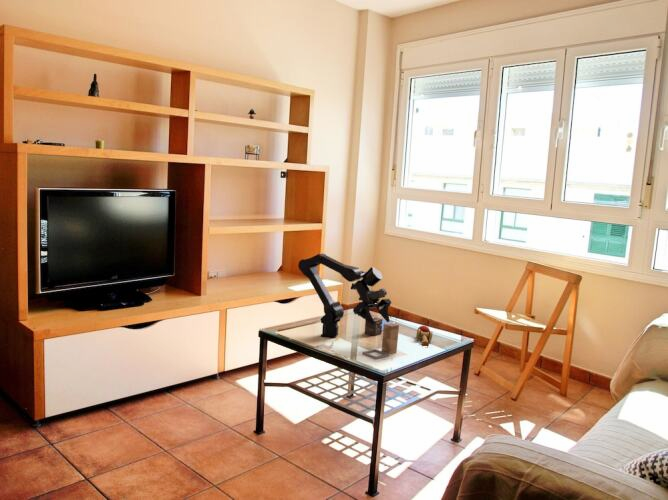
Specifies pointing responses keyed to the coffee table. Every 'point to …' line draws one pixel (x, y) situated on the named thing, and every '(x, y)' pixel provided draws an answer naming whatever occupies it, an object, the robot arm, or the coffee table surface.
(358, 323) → the coffee table surface
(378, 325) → the box
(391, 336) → the pillar
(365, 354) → the plate
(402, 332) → the coffee table surface
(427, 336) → the kendama
